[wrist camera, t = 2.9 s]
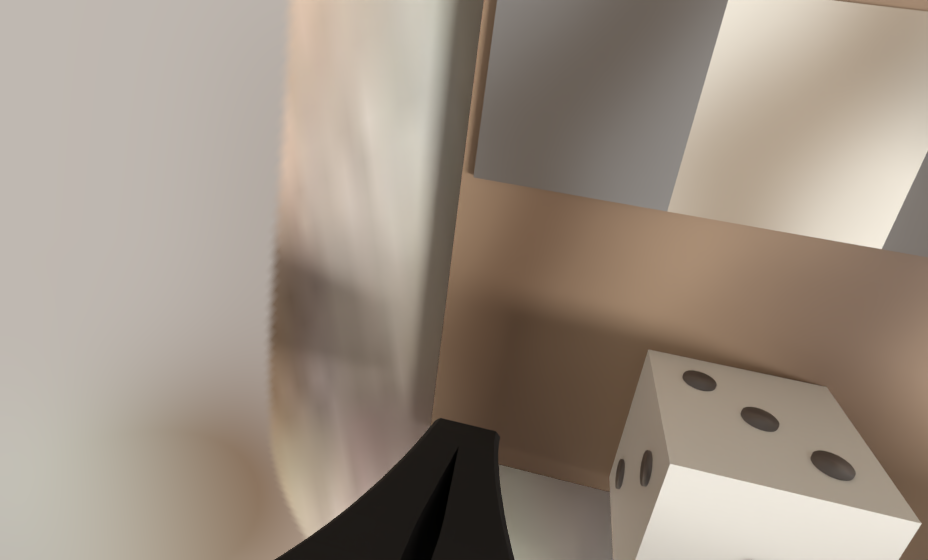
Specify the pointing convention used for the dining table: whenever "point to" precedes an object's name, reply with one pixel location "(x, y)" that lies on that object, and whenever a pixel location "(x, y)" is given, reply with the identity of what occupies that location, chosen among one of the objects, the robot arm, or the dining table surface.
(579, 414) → the board
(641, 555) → the die
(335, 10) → the dining table surface
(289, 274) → the dining table surface
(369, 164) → the dining table surface
